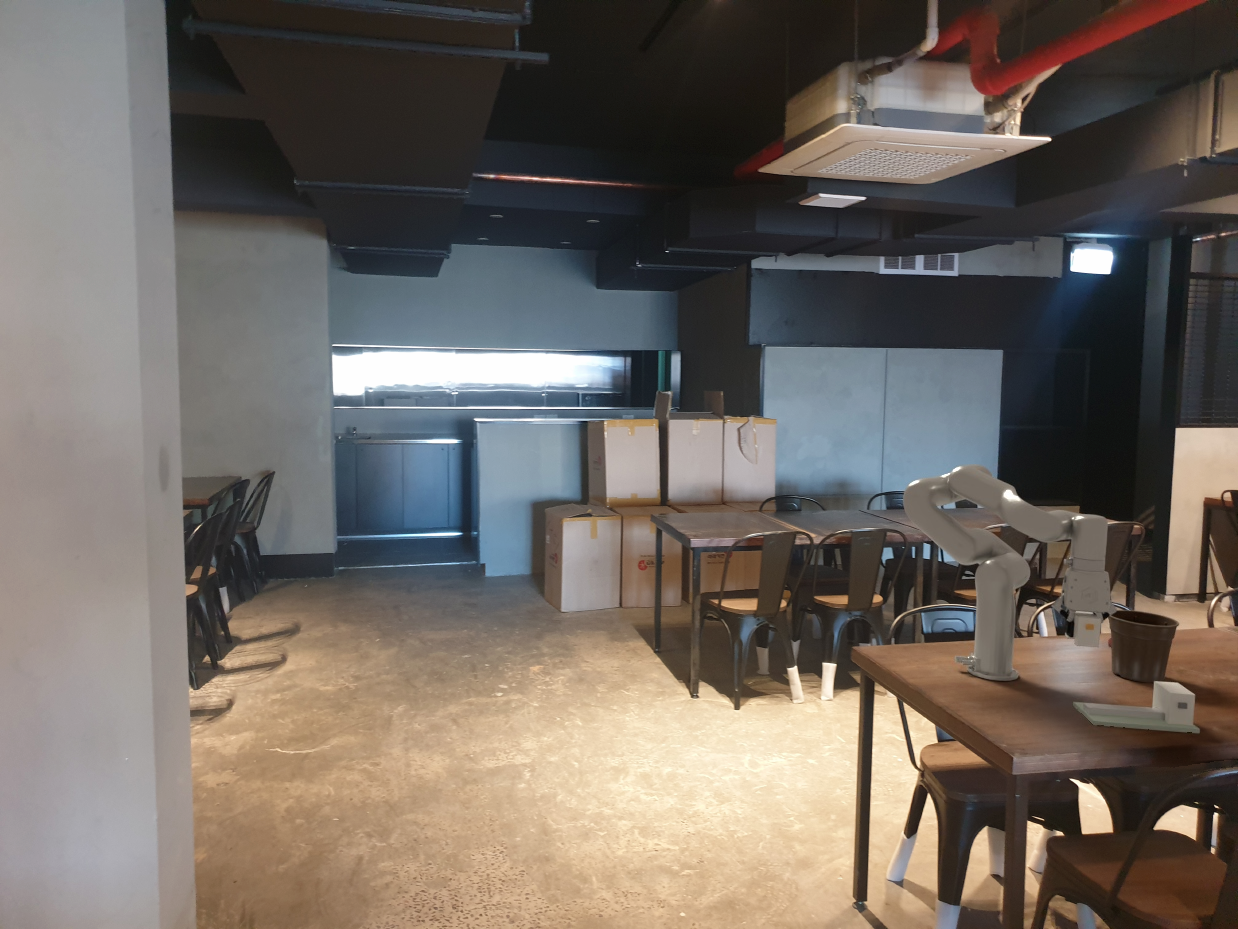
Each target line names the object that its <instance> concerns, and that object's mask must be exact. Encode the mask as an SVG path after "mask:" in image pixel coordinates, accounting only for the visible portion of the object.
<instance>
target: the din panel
mask: <svg viewBox="0 0 1238 929" xmlns="http://www.w3.org/2000/svg"><path fill="white" fill-rule="evenodd" d="M1152 694H1153V695H1152V707H1147V706H1134V705H1133V706H1132V705H1121V704H1120V705H1118V704H1106V703H1092V702H1078V701H1073V707H1074V708H1075V709H1076V710H1077V709H1078V710H1077V711H1078V712H1079V713H1080V714H1081V713H1082V714H1083V715H1084V716H1085V717H1086V718H1087V719H1088V720H1089V721H1090V722H1091V723H1092V724H1093V725H1092V724H1091V723H1090V722H1089V721H1088V720H1087V719H1086V718H1085V717H1084V716H1083V715H1082V714H1081V715H1082V716H1083V717H1084V718H1085V719H1086V720H1087V721H1088V722H1089V723H1090V724H1091V725H1092V726H1097V725H1104V726H1103V727H1110V726H1114V727H1113V728H1123V727H1125V728H1126V729H1137V730H1148V729H1149V730H1152V731H1163V732H1176V733H1177V732H1179V733H1187V732H1192V733H1191V734H1200V732H1201V728H1199V727H1198V726H1197V725H1195V724H1194V717H1195V716H1194V713H1195V701H1196V694H1195V693H1193V692H1192V691H1190V690H1189V689H1187V688H1186V687H1184V686H1183V685H1182V684H1180V683H1179V682H1173V681H1172V682H1171V681H1162V682H1159V681H1154V682H1153V693H1152Z"/></svg>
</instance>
